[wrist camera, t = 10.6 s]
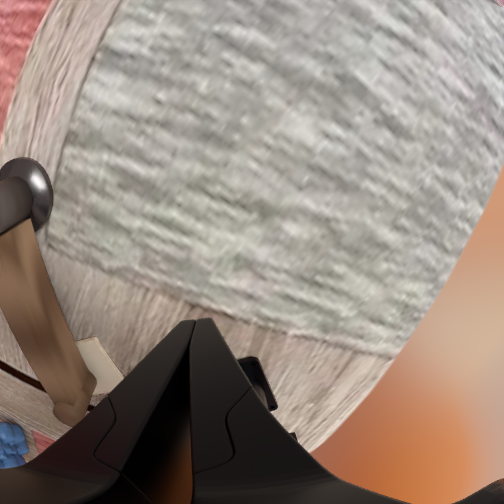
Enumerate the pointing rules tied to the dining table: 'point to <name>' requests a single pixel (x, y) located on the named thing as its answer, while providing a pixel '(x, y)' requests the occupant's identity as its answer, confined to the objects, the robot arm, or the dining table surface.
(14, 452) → the grapes
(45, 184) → the hinge base
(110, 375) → the open pad
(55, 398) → the gate
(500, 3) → the lily
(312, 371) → the dining table surface
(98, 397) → the dining table surface
